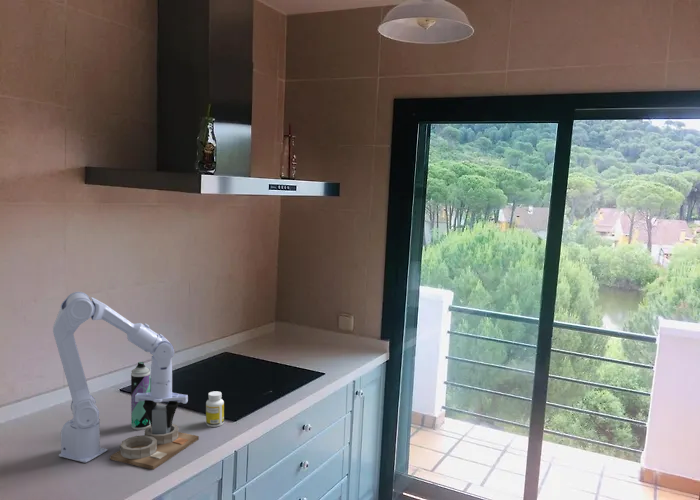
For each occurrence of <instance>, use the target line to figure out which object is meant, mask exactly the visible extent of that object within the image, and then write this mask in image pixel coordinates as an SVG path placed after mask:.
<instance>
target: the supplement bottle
mask: <svg viewBox="0 0 700 500" xmlns="http://www.w3.org/2000/svg"><path fill="white" fill-rule="evenodd" d="M222 395H223V394H222V392H221V391H217V390H216V391H214V390H213V391H210V392H208V398H207V400H206V402H205V424H206V425H207V427H212V428H217V427H220V426H223V424H224V423H225V401H224V400H223V398H222V397H223V396H222Z"/></svg>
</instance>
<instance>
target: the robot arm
mask: <svg viewBox="0 0 700 500" xmlns="http://www.w3.org/2000/svg"><path fill="white" fill-rule="evenodd" d="M90 319H91V320H92V321H100V320H102V321H105V322H106V323H108V324H109V325H112V326H113V327H115V328H116V329H118V330H119V331H121V332H123V333H125V334H126V339H127V341H128V342H130V343H132V344H133V345H134V346H136V347H138V348H139V349H141V350H142V351H144V352H146V353H149V354H150V355H151V365H150V392H149V393H137V394H136V395H135V402H139V401H144V405H143V408H144V409H145V411H146V413H147V415H148V417H149V420H150V426H151V427H152V410H153V409H154V407H155V406H156V405H158V403H167V404H165V405H166V410H167V428H170V427H171V425H172V424H173V421H174V417H175V413H176V411H177V408H178V406H179V404H180V403H182V404H187V403H188V401H189V396H188V394H182V393H177V392H173V363H172V360H173V359H172V358H173V357H174V355H175V352H176V351H175V349H174V346H173V344H172V343H171V342H170V341H169V340H168V339H167V338H166V337H165V336H164V335H163V334H161V333H157V332H155V330H152V329H151V328H150V325H149V324H147V323H146V322H144V324H143V323H142V322H137V323H133V322H131V321H130V320H128V318H126V317H125V316H123V315H121V313H118V312H117V311H116V310H114V309H113V308H112V307H110V306H109V305H107V304H106V303H104V302H102V301H100V299H99V300H98V299H97V298H95V297H92V296H89V295H88V294H86V293H85V292H83V291H75V292H72V293H70V294H69V295H68V296H67V297H66V298H65V299H64V300H63V301H62V302H61V305H60V308H59V311H58V314H57V316H56V319H55V321H54V323H53V326H52V334H53V336H54V340H55V344H56V347H57V351H58V353H59V357H60V361H61V365H62V368H63V372H64V376H65V378H66V383H67V385H68V389H69V392H70V396H71V397H70V398H71V403H70V409H71V412H72V415H73V416H72V419H69V420H68V421H66V422H65V423H64V424H63V426H62V428H61V432H60V445H61V446H60V452H61V453H59V454H58V457H61V458H65V459H69V460H73V461H77V462H81V463H89V462H90V461H92V460H93V459H95V458H97V457H99V456H101V455H102V454H104V453H106V452H108V449H107V448H104V447H101V442H100V440H101V435H100V434H101V433H100V431H101V430H100V429H101V428H100V423H101V422H100V421H101V420H100V410H99V408H98V406H97V404H96V403H97V402H96V398H95V397H94V396H93V395H92V394H91V393H90V389H89V386H88V383H87V379H86V375H85V372H84V367H83V364H82V361H81V357H80V353H79V350H78V345H77V343H76V338H75V336H74V334H75V332H76V331H77V330H78V329H79V327H80V326H81V325H82V324H84V323H85V322H87V321H88V320H90Z"/></svg>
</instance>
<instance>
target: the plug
mask: <svg viewBox="0 0 700 500" xmlns="http://www.w3.org/2000/svg"><path fill="white" fill-rule="evenodd" d="M166 405H167V404H157V405H156V406H155V407H154V409H153V410H152V434H166V433H170V432H171V427H170V428H167V410H166Z"/></svg>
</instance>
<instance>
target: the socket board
mask: <svg viewBox="0 0 700 500" xmlns="http://www.w3.org/2000/svg"><path fill="white" fill-rule="evenodd" d="M199 439H200V437H199V435H195V434H189V433H186V432H180V431H179V426H177V425H176V424H175V423H172V425H171V432H170V433H166V434H152V427H151V425H150V426H149V427H147V428H146V429H144V435H135V436H131V437H128V438H125V439H123V440H122V441H121V443H120V450H118V451H116V452H114V453H112V454H111V455H110V456H109V457H110V459H109V460H111V461H115V462H120V463H124V464H129V465H131V466H132V465H133V466H137V467H140V468H141V467H142V468H143V469H144V468H146V469H150V470H155V469H157V468H158V467H160V466H161V465H163V464H164V463H166V462H168V461H169V460H170V459H171V458H174V457H175V456H176V455H178V454H179V453H181V452H183V451H184V450H185V449H187V448H188V447H189V446H192V445H193V444H194V443H195V442H197V441H198V440H199Z"/></svg>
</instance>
